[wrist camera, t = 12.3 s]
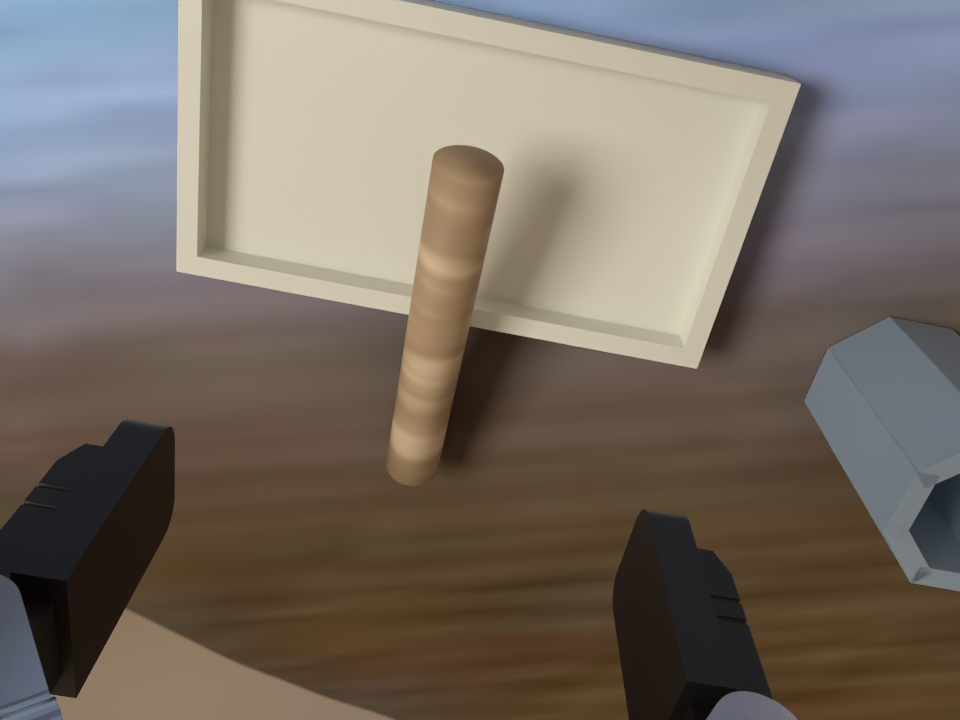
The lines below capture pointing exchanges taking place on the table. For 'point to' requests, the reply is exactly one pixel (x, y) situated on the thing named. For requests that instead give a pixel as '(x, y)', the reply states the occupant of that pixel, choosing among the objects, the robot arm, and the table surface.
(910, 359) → the cup
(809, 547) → the table surface
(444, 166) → the pin
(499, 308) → the tray
